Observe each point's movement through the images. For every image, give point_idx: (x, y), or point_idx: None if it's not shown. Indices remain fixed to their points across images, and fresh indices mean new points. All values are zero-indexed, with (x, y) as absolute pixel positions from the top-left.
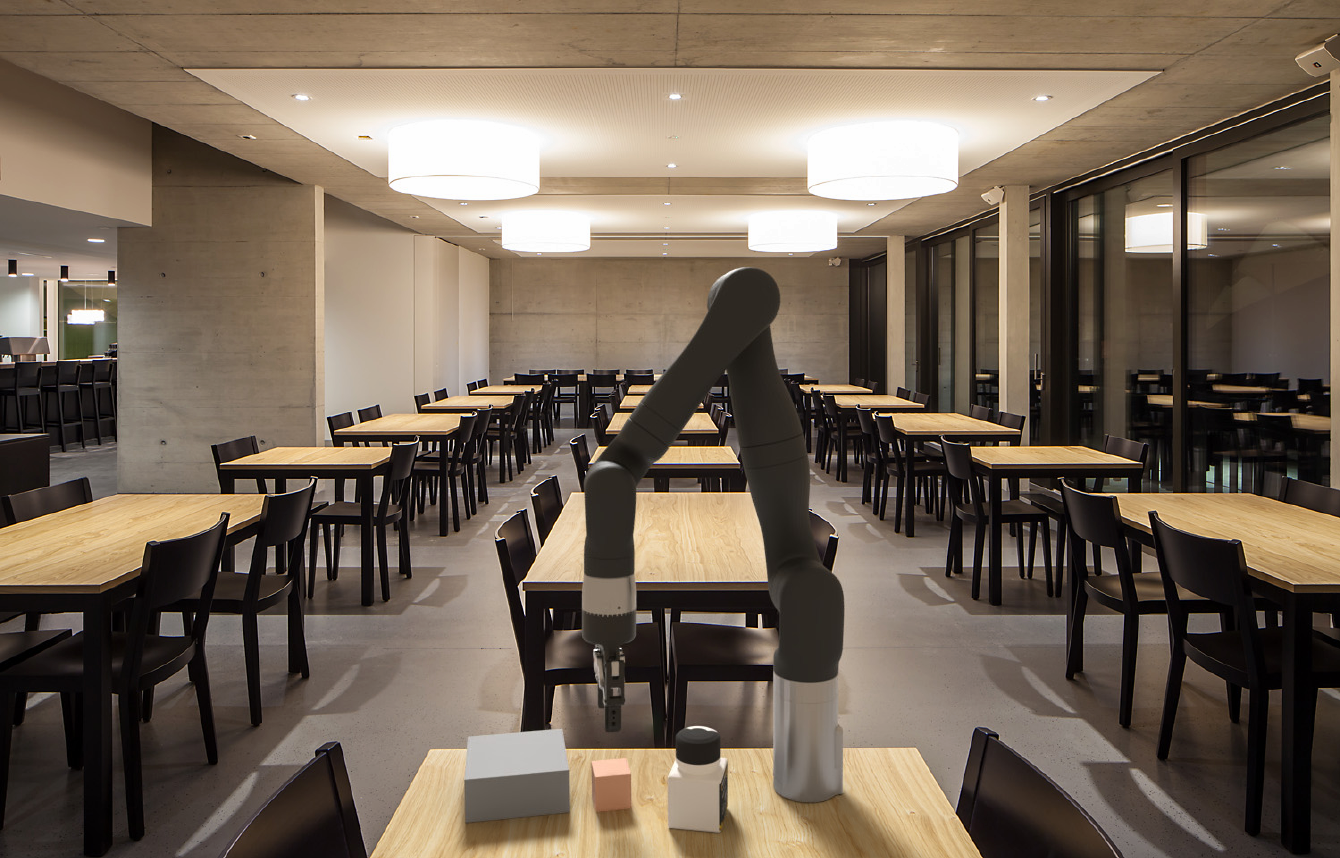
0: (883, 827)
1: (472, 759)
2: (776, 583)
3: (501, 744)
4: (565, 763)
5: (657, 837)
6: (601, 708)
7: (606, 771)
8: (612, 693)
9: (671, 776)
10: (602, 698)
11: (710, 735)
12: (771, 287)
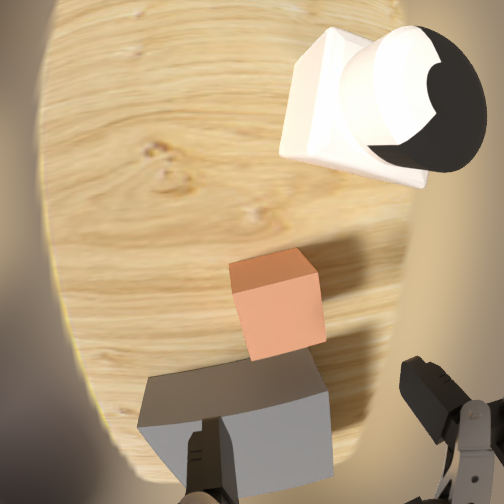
0: None
1: (274, 488)
2: None
3: None
4: (299, 402)
5: (390, 196)
6: (228, 434)
7: (303, 325)
8: (221, 452)
9: (426, 180)
10: (230, 459)
11: (462, 62)
12: None
